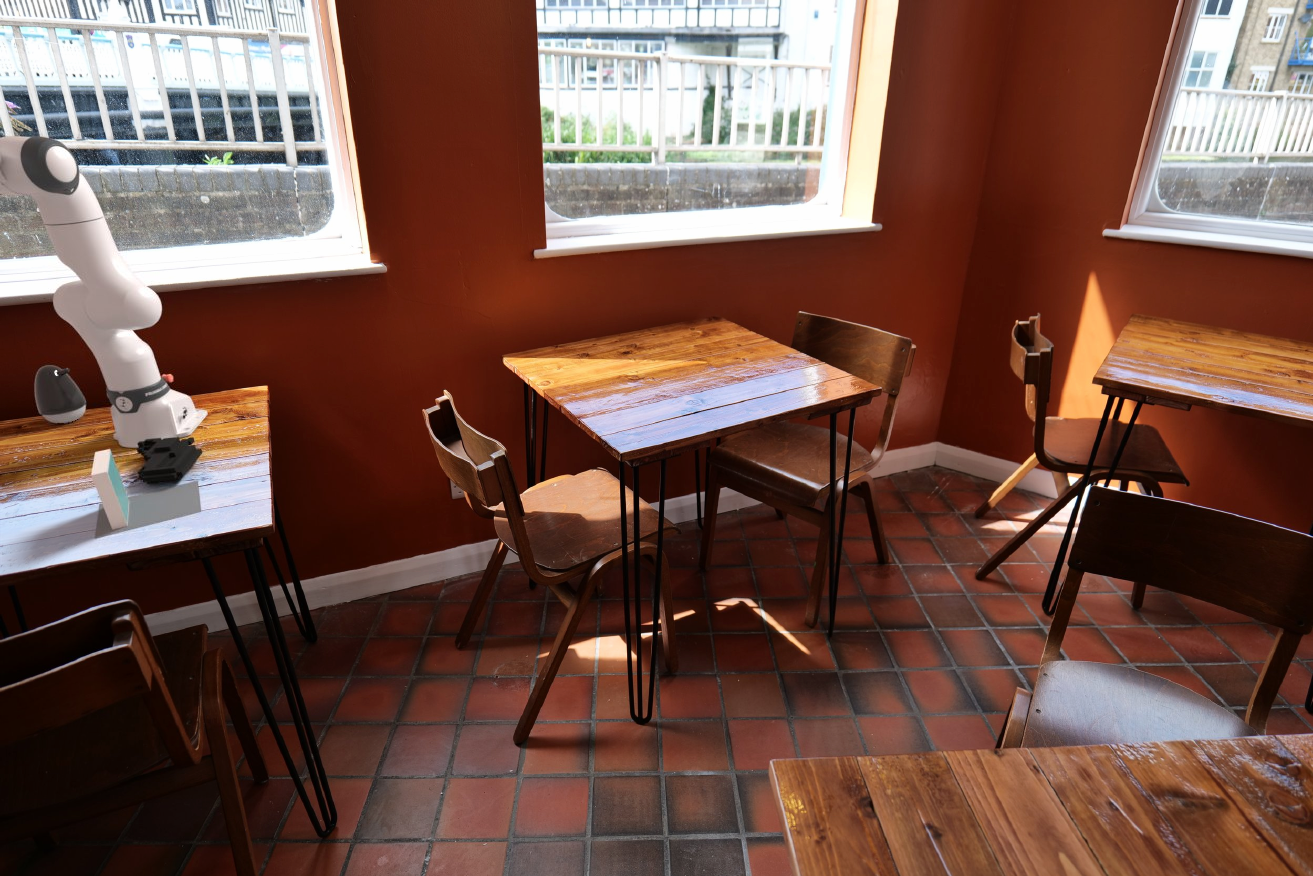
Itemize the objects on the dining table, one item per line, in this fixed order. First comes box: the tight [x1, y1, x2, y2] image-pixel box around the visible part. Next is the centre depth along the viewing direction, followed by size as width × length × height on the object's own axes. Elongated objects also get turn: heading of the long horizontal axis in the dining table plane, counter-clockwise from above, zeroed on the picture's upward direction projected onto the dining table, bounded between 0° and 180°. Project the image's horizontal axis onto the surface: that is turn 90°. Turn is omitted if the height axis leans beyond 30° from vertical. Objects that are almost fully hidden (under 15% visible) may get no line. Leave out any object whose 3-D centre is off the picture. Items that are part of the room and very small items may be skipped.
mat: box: [94, 480, 202, 540], centre depth 154 cm, size 18×16×1 cm
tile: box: [90, 448, 129, 530], centre depth 149 cm, size 2×12×12 cm, turn 31°
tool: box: [136, 436, 204, 485], centre depth 170 cm, size 5×20×15 cm
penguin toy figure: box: [34, 364, 87, 424], centre depth 196 cm, size 10×10×15 cm
